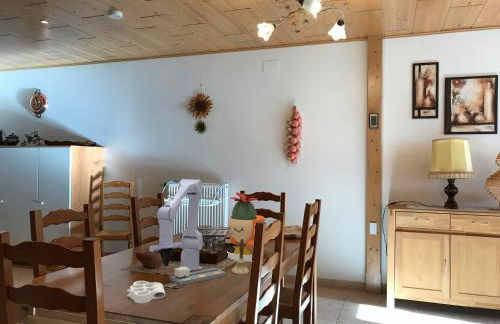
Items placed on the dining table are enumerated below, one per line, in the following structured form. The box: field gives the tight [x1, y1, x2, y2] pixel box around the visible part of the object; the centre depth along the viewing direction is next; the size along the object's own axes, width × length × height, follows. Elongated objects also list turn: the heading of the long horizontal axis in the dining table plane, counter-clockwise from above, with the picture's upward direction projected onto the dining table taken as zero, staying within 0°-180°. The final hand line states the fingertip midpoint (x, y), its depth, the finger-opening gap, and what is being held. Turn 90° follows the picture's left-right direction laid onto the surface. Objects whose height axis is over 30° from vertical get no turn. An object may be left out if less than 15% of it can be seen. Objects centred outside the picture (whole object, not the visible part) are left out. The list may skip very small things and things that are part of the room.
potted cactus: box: [227, 192, 266, 263], centre depth 228 cm, size 22×22×35 cm
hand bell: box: [231, 239, 250, 275], centre depth 197 cm, size 8×8×16 cm
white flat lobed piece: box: [125, 280, 166, 304], centre depth 164 cm, size 3×18×15 cm
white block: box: [174, 266, 191, 278], centre depth 182 cm, size 7×5×3 cm
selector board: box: [169, 267, 227, 286], centre depth 187 cm, size 9×24×2 cm, turn 128°
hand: (165, 265), depth 178 cm, fingers closed
